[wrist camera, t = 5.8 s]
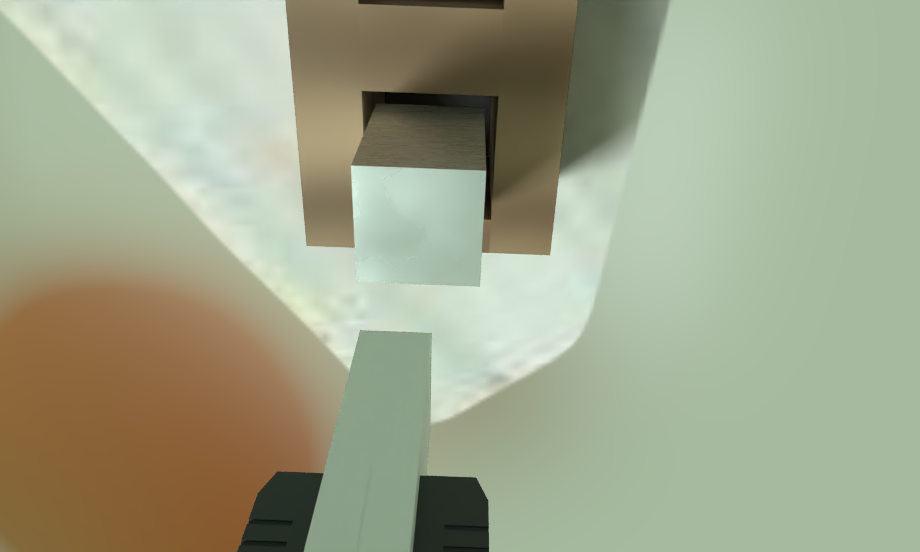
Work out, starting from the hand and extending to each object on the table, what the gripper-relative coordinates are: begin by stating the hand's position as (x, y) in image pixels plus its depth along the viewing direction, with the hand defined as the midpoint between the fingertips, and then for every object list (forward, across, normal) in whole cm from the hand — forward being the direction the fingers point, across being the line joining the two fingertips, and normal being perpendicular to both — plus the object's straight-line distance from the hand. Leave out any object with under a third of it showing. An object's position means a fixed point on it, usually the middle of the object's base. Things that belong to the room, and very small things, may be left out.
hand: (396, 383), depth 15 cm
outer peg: (+14, 0, 0) cm, 14 cm away
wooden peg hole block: (+21, 0, +4) cm, 21 cm away
